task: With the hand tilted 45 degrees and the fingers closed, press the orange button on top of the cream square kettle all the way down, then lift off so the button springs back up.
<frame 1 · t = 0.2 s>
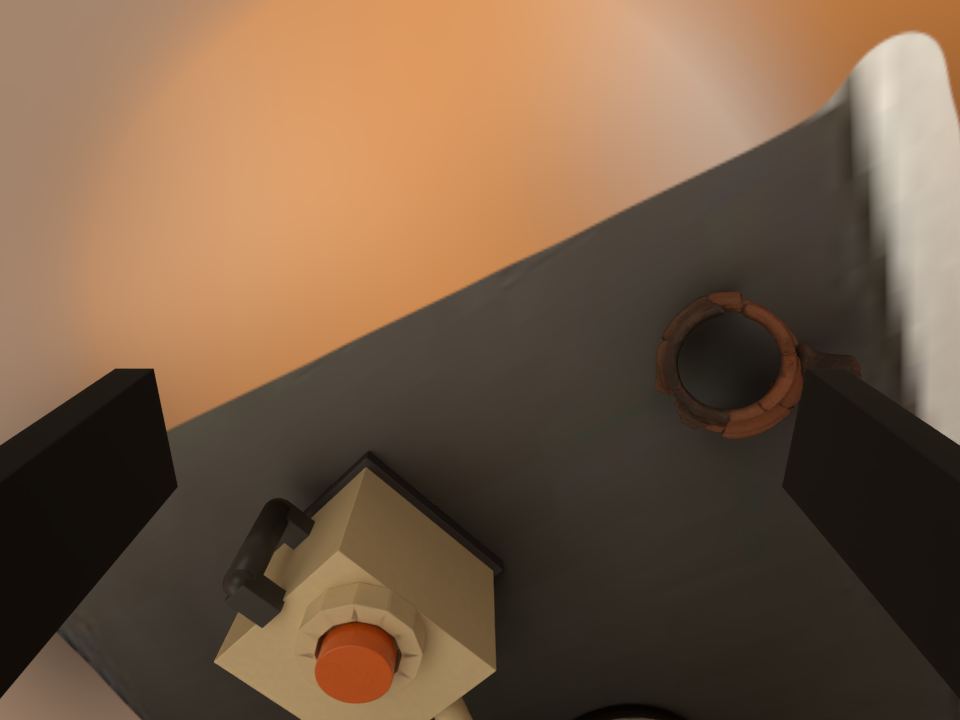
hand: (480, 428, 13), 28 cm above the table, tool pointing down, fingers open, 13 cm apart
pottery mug: (731, 354, 42), on the table
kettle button: (356, 663, 35), point 13 cm above the table, slide at 0.2 cm
kettle: (380, 558, 48), on the table
kettle handle and spout: (380, 558, 48), on the table
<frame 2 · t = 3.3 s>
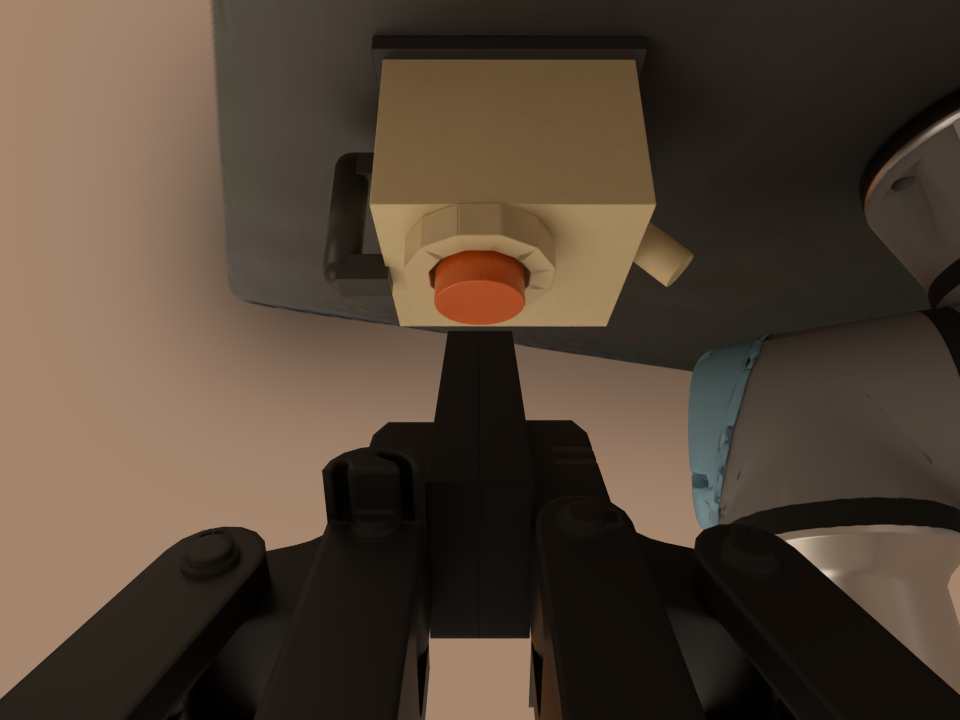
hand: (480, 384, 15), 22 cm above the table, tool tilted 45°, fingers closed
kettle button: (479, 289, 30), point 13 cm above the table, slide at 0.2 cm
kettle: (504, 132, 37), on the table
kettle handle and spout: (504, 132, 37), on the table
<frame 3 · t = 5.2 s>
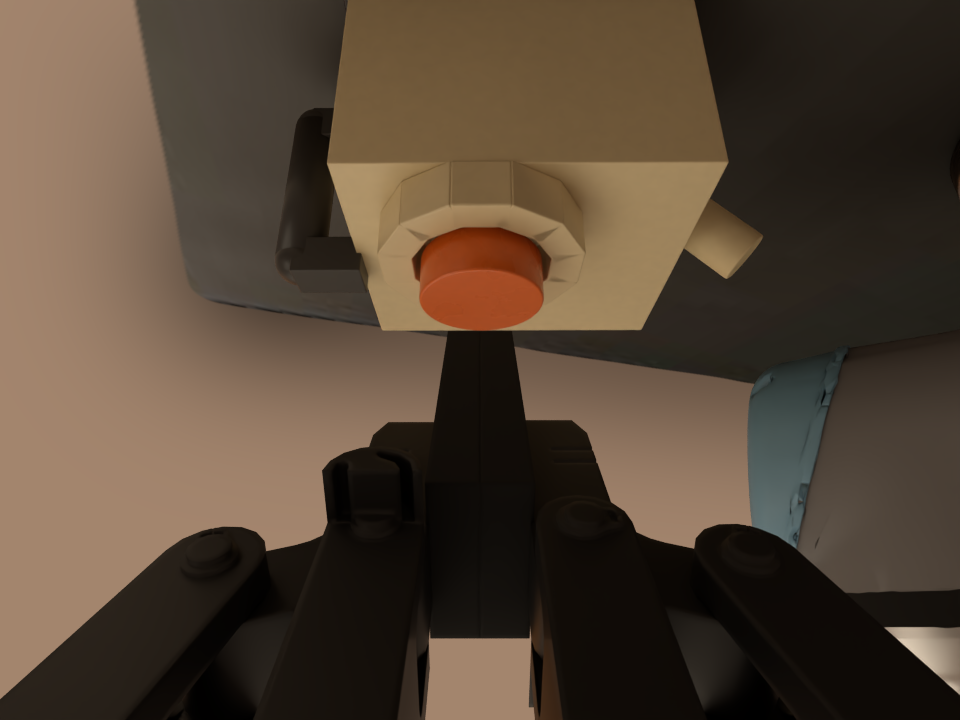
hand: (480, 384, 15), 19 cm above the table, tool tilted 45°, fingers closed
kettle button: (481, 281, 22), point 13 cm above the table, slide at 0.2 cm
kettle: (512, 84, 29), on the table
kettle handle and spout: (512, 84, 29), on the table
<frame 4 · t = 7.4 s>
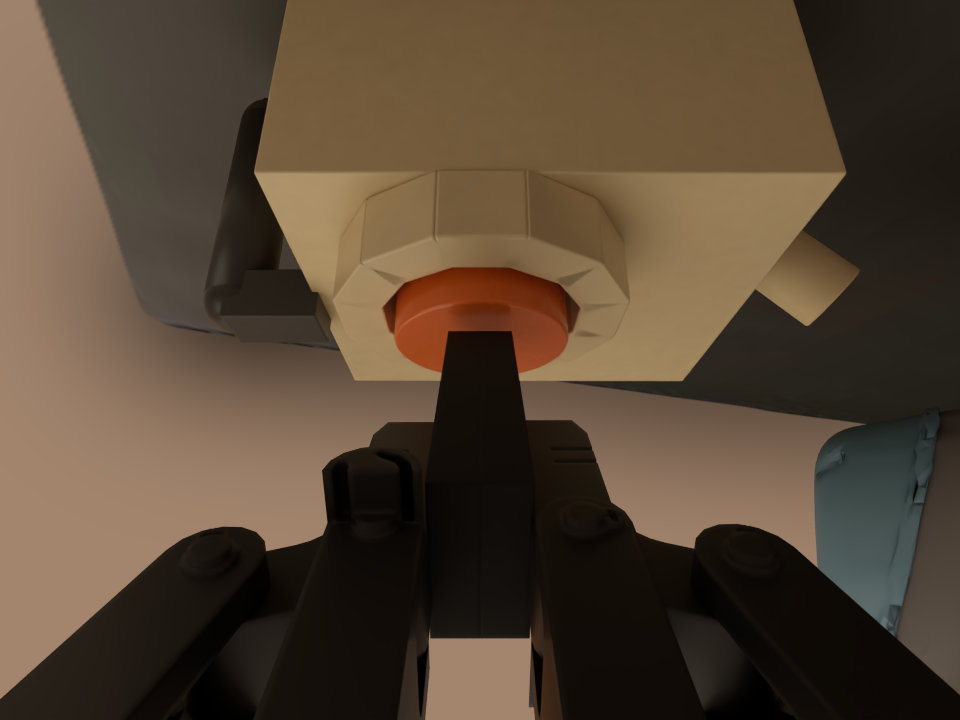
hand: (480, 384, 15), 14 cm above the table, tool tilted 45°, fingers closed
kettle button: (481, 314, 16), point 12 cm above the table, slide at -0.6 cm, touching gripper
kettle: (521, 69, 23), on the table
kettle handle and spout: (521, 69, 23), on the table
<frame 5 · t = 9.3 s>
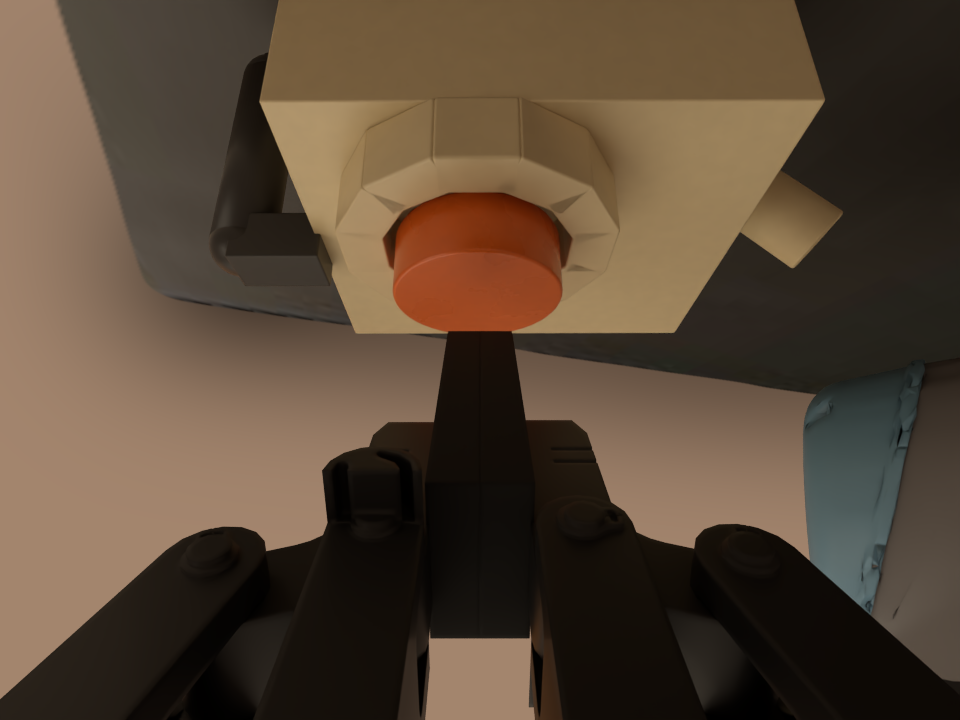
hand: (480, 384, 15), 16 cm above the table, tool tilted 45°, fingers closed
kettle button: (477, 270, 16), point 13 cm above the table, slide at 0.1 cm
kettle: (516, 27, 24), on the table
kettle handle and spout: (516, 27, 24), on the table
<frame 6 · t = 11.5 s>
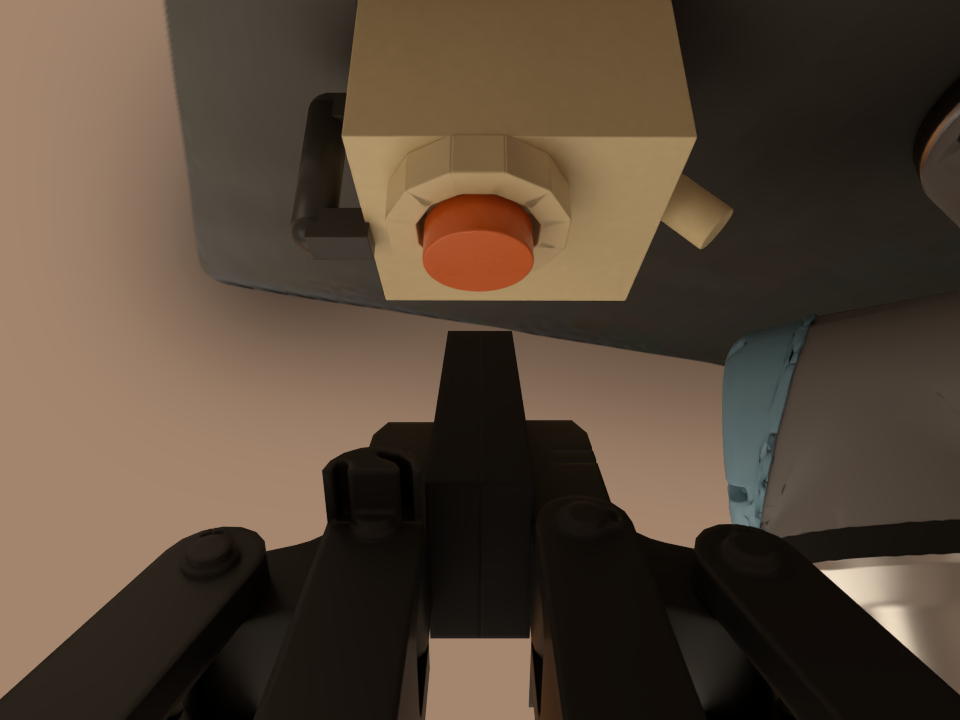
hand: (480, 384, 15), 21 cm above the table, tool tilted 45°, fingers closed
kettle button: (478, 245, 25), point 13 cm above the table, slide at 0.1 cm
kettle: (507, 72, 32), on the table
kettle handle and spout: (507, 72, 32), on the table
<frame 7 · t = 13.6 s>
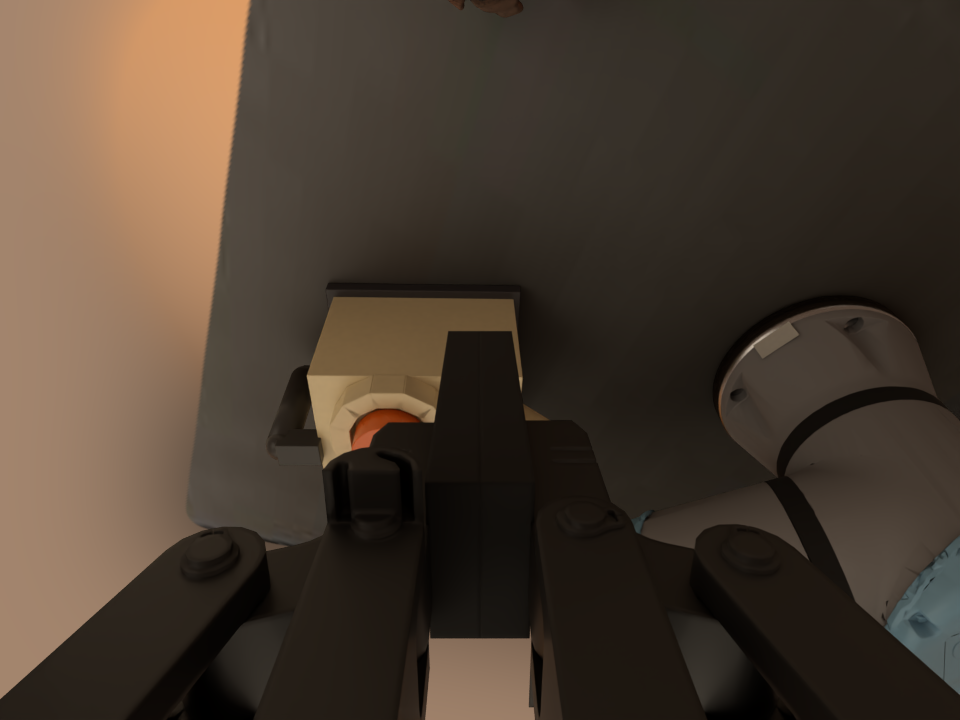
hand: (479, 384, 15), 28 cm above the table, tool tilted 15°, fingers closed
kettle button: (389, 445, 37), point 13 cm above the table, slide at 0.1 cm
kettle: (426, 356, 49), on the table
kettle handle and spout: (426, 356, 49), on the table
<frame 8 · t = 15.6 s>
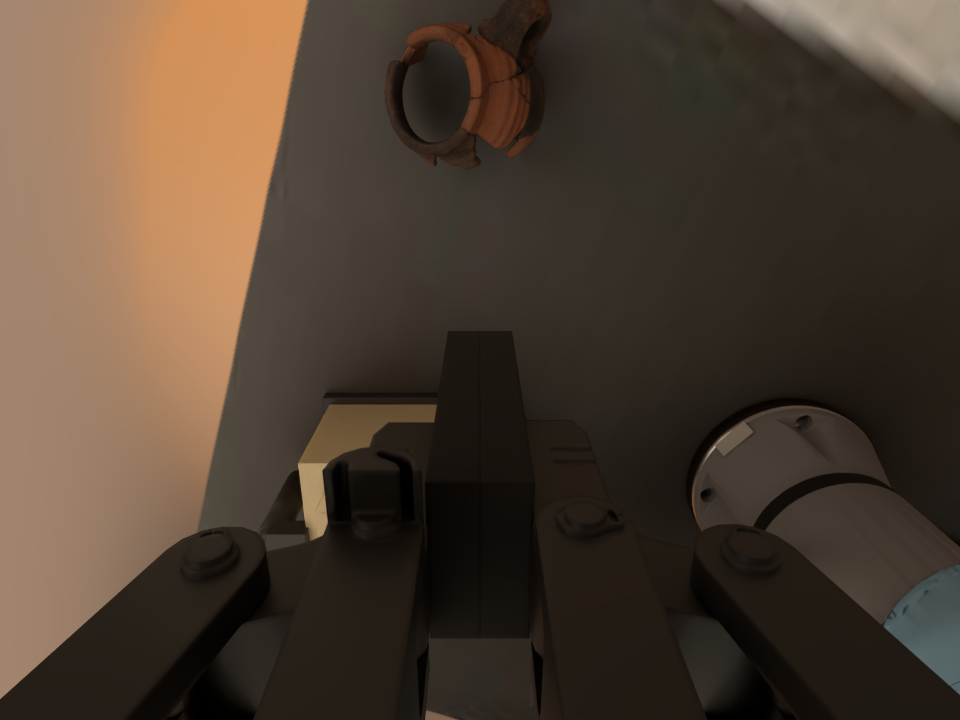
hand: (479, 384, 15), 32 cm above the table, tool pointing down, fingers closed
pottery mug: (481, 86, 42), on the table
kettle: (414, 463, 53), on the table
kettle handle and spout: (414, 463, 53), on the table
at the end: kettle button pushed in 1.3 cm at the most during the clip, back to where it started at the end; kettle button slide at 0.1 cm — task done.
